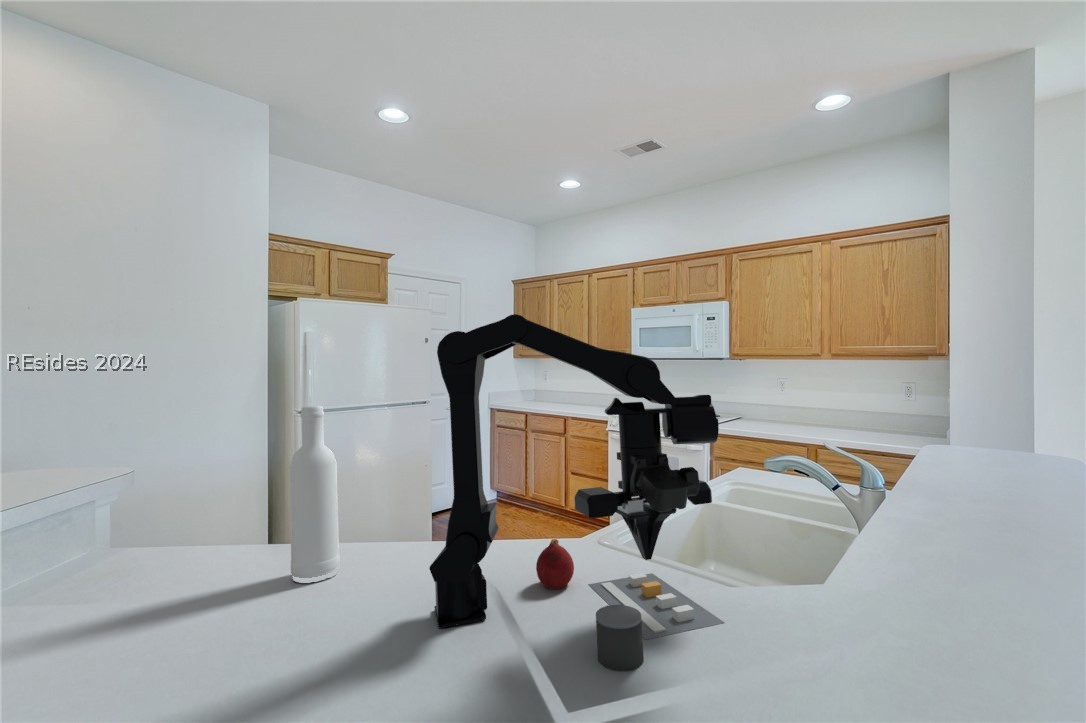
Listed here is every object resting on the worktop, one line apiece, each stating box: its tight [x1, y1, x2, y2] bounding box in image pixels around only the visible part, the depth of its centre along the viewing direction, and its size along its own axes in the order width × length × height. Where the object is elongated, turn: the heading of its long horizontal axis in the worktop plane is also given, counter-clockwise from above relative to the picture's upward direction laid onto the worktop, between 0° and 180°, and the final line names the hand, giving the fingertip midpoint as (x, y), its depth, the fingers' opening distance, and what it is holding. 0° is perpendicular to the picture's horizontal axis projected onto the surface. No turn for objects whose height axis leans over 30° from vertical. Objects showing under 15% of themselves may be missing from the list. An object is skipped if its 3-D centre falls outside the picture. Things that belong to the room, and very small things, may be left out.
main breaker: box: [642, 581, 662, 597], centre depth 71 cm, size 2×1×1 cm, turn 107°
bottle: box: [289, 405, 341, 578], centre depth 89 cm, size 8×8×30 cm
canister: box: [595, 605, 645, 672], centre depth 55 cm, size 5×5×6 cm
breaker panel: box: [587, 572, 726, 641], centre depth 69 cm, size 11×18×2 cm, turn 17°
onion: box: [535, 537, 575, 590], centre depth 76 cm, size 6×6×8 cm
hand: (646, 558), depth 69 cm, fingers closed
